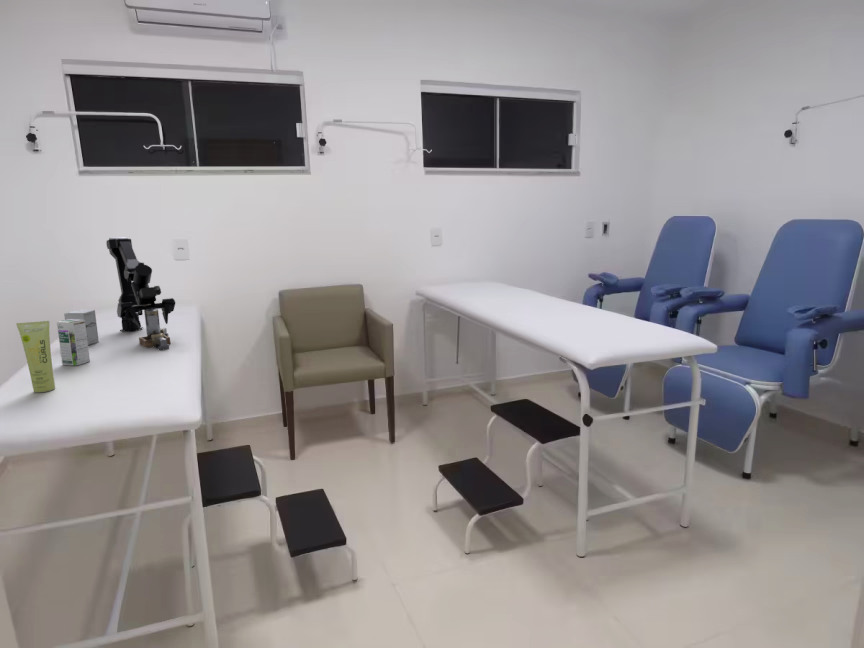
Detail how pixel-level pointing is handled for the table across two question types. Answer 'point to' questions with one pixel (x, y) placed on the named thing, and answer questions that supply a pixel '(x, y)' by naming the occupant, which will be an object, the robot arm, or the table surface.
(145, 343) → the hollow wooden square frame
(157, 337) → the grey and wooden pieces
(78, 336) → the syrup box
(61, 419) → the table surface
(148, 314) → the grey cylinder
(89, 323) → the supplement box
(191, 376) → the table surface
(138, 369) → the table surface
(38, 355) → the tube
